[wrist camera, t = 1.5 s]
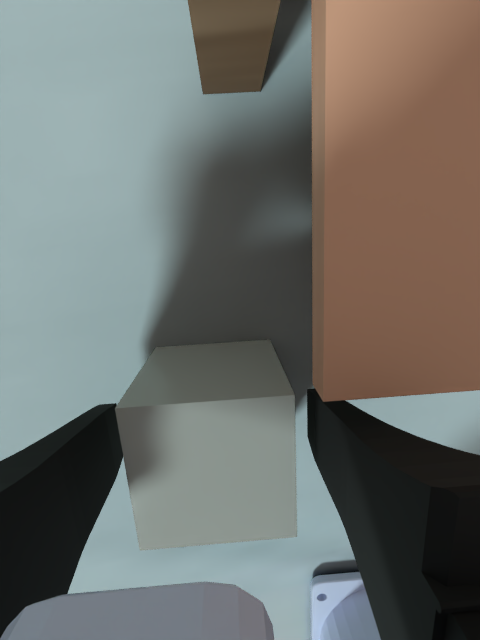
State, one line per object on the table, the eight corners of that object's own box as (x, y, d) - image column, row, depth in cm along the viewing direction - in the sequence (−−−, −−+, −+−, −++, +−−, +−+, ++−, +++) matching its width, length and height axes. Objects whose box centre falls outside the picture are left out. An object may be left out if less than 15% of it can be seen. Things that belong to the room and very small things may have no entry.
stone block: (273, 437, 14) (296, 537, 10) (169, 445, 14) (140, 550, 9) (269, 338, 13) (294, 395, 8) (156, 346, 13) (115, 408, 8)
